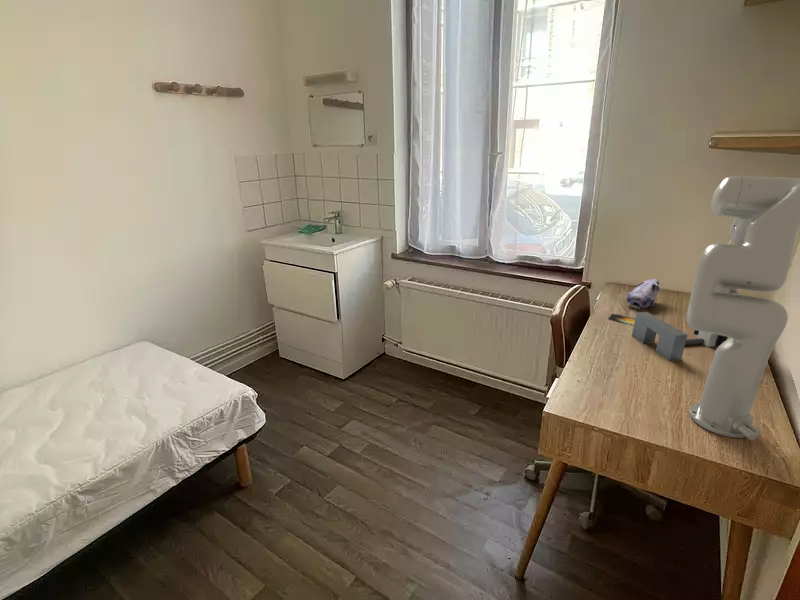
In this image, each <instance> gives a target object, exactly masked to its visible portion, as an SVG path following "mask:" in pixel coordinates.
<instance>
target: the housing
mask: <svg viewBox="0 0 800 600" xmlns="http://www.w3.org/2000/svg"><path fill="white" fill-rule="evenodd" d="M634 318H635V323H634V326H633V327H632V328H633V329H632V332H631V336H632V337H633V336H634V337H633V338H635V339H636V340H637V341H639V342H640V343H642V344H653V343H655V341H656V338H657V334H658V335H659V337H658V341H657V344H656V349H655V353H657V354H659V355H660V356H661V357H663V358H664V359H666V360H667V361H669V362H670V361H671V362H672V361H681V360H682V358H683V355H684V354H683V353H684V350H685V347H686V345H685V343H686V339H688V334H687V333H685V332H683V331H682V330H680V329H679V328H677V327H675V326H673V325H671V324H669V323H667V322H666V321H664V320H662V319H660V318H659V317H657V316H655V315H653V314H652V313H650V312H648V311H642V312H639V311H638V312H636V314H635V317H634Z"/></svg>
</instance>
